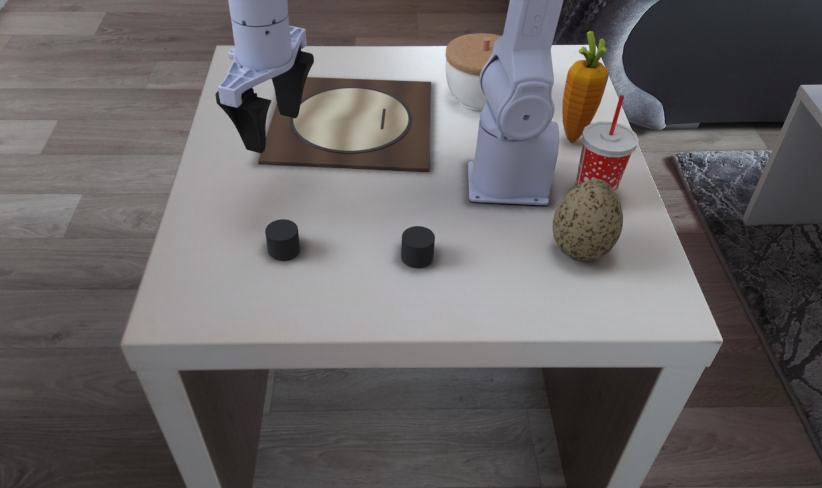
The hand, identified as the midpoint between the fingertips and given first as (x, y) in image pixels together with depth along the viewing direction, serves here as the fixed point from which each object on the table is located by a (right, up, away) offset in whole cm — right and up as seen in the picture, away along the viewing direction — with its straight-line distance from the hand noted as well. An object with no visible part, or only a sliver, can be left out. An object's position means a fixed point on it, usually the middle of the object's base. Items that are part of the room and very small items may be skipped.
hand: (272, 132), depth 78 cm
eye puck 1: (+1, -13, 0) cm, 13 cm away
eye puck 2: (+16, -14, -1) cm, 21 cm away
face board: (+8, +5, +19) cm, 21 cm away
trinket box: (+27, +9, +23) cm, 37 cm away
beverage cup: (+38, -7, +6) cm, 39 cm away
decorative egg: (+34, -14, 0) cm, 37 cm away
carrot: (+38, +2, +15) cm, 41 cm away
